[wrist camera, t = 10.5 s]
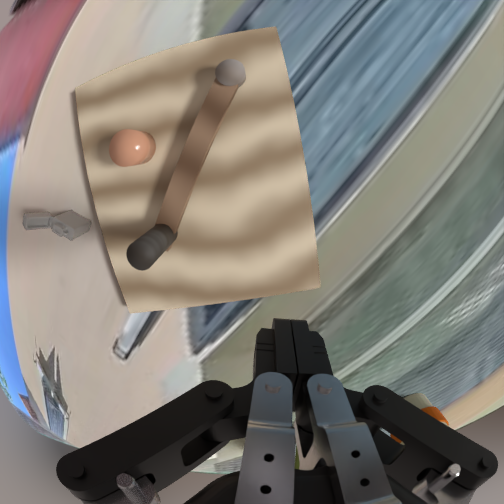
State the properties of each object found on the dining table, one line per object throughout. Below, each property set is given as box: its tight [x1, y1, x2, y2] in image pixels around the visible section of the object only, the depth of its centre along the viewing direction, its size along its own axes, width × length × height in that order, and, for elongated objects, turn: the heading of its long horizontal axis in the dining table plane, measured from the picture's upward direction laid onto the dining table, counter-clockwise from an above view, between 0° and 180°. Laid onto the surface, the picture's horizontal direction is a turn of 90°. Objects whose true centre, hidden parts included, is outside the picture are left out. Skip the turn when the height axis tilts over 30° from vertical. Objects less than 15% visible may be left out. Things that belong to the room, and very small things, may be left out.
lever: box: [126, 59, 246, 271], centre depth 25 cm, size 22×3×8 cm, turn 156°
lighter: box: [23, 210, 91, 240], centre depth 31 cm, size 7×2×8 cm, turn 63°
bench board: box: [75, 27, 321, 313], centre depth 31 cm, size 32×26×2 cm
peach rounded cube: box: [109, 129, 156, 167], centre depth 27 cm, size 4×4×4 cm
